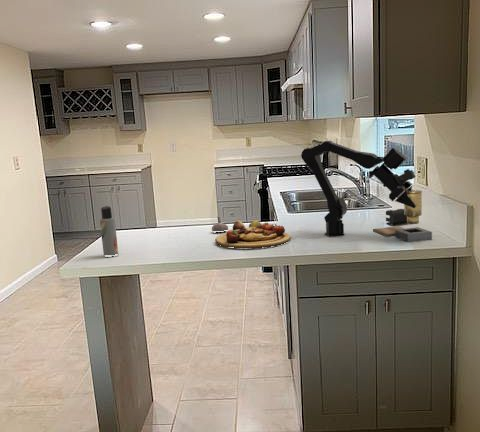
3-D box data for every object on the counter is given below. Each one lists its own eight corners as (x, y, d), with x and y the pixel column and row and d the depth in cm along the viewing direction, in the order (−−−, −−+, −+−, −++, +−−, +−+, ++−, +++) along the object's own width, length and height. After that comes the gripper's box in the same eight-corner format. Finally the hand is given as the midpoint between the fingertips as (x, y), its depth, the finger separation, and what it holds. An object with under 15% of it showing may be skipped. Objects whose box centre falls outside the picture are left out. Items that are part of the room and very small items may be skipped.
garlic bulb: (210, 234, 227) (209, 217, 226) (214, 231, 234) (213, 214, 233) (226, 234, 225) (224, 217, 224) (230, 230, 232) (229, 214, 231)
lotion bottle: (119, 253, 200) (114, 205, 197) (116, 257, 195) (111, 207, 191) (105, 254, 200) (100, 206, 197) (102, 258, 195) (96, 208, 191)
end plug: (409, 225, 189) (409, 193, 187) (400, 222, 196) (400, 191, 194) (425, 223, 190) (425, 191, 188) (416, 220, 197) (416, 189, 195)
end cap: (394, 226, 218) (394, 211, 217) (385, 224, 225) (384, 209, 224) (413, 224, 221) (413, 209, 220) (403, 221, 228) (403, 207, 226)
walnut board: (386, 236, 199) (385, 234, 199) (372, 231, 211) (372, 228, 211) (413, 233, 202) (413, 231, 201) (398, 228, 213) (398, 226, 213)
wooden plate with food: (241, 255, 186) (241, 234, 185) (201, 241, 213) (200, 222, 211) (306, 242, 203) (306, 222, 202) (262, 231, 230) (261, 213, 228)
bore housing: (408, 242, 188) (407, 234, 188) (395, 236, 198) (395, 229, 198) (431, 239, 190) (431, 231, 190) (418, 234, 200) (418, 227, 199)
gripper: (397, 165, 183) (428, 194, 180) (406, 161, 199) (435, 188, 196) (376, 186, 188) (406, 215, 185) (386, 180, 204) (414, 207, 201)
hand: (416, 205), depth 191 cm, fingers closed on end plug, 6 cm apart
